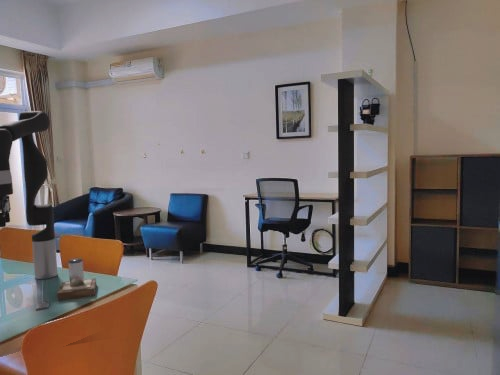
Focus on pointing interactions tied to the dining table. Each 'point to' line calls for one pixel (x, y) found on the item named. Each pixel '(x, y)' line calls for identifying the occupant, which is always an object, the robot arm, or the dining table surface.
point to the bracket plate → (42, 305)
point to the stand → (77, 290)
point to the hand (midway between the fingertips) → (4, 224)
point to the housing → (76, 272)
